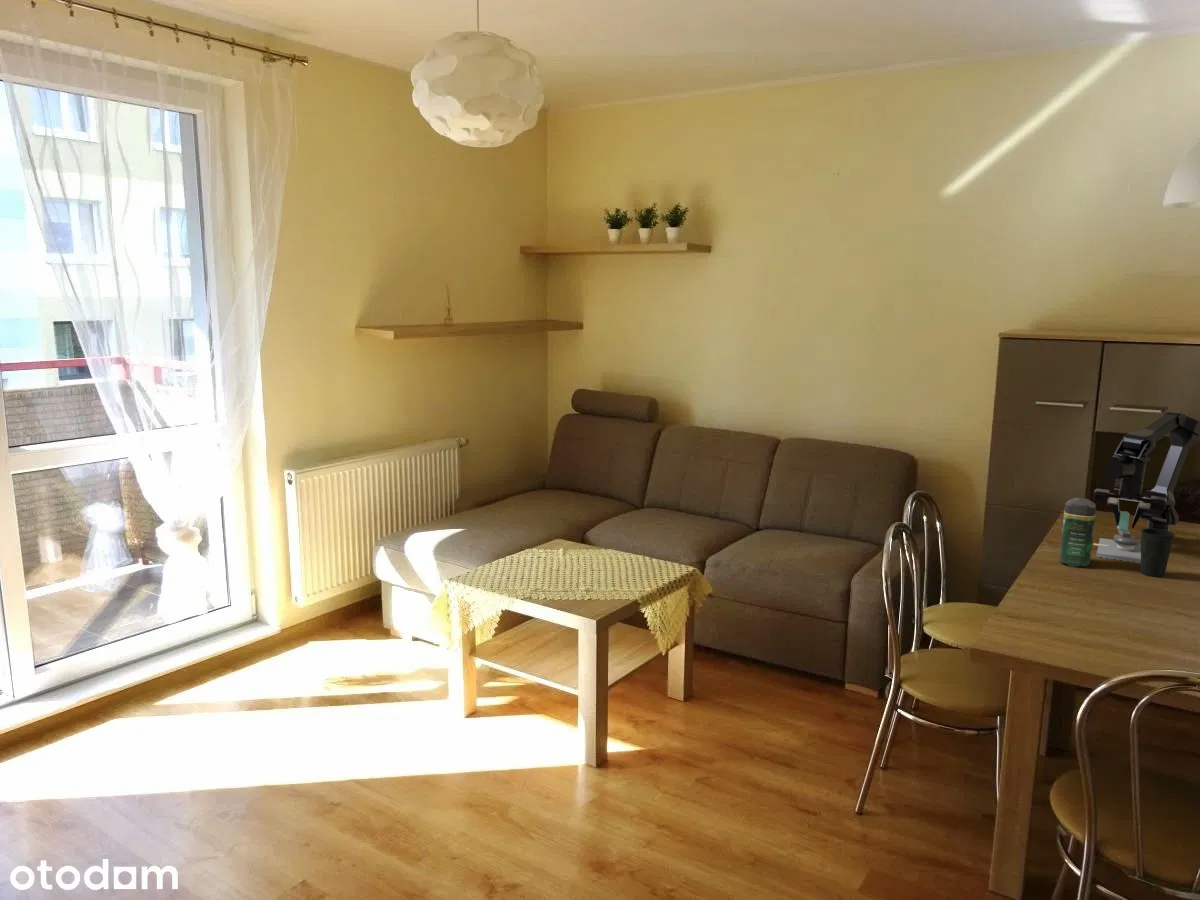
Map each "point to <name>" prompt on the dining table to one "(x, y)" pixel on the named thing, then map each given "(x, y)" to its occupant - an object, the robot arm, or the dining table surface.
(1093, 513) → the coffee jar
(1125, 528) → the handle
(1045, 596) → the dining table surface
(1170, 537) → the cup
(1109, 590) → the dining table surface
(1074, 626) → the dining table surface
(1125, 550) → the base
